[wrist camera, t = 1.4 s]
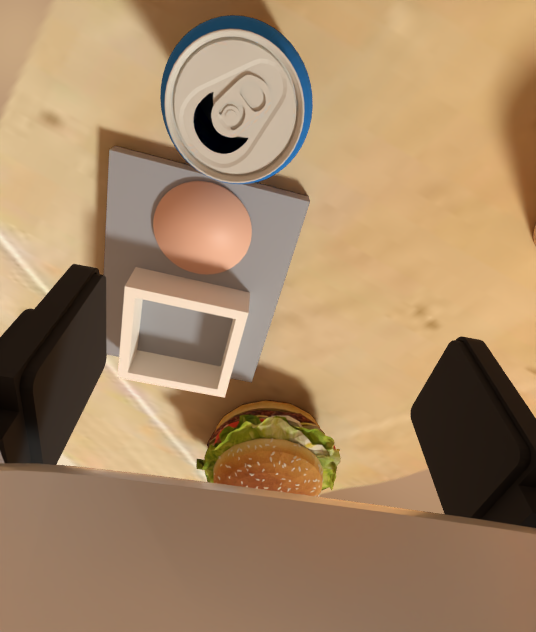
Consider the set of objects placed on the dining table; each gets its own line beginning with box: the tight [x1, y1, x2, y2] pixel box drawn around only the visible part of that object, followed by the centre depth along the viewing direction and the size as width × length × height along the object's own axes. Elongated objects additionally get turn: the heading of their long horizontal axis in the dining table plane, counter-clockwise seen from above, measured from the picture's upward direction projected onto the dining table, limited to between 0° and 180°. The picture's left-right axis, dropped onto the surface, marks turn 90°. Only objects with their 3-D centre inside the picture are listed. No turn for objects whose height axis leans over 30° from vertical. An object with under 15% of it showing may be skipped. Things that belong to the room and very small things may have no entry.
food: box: [196, 401, 340, 497], centre depth 42 cm, size 14×14×8 cm
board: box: [104, 146, 310, 398], centre depth 33 cm, size 18×14×4 cm
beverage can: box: [161, 15, 312, 184], centre depth 22 cm, size 6×6×12 cm
